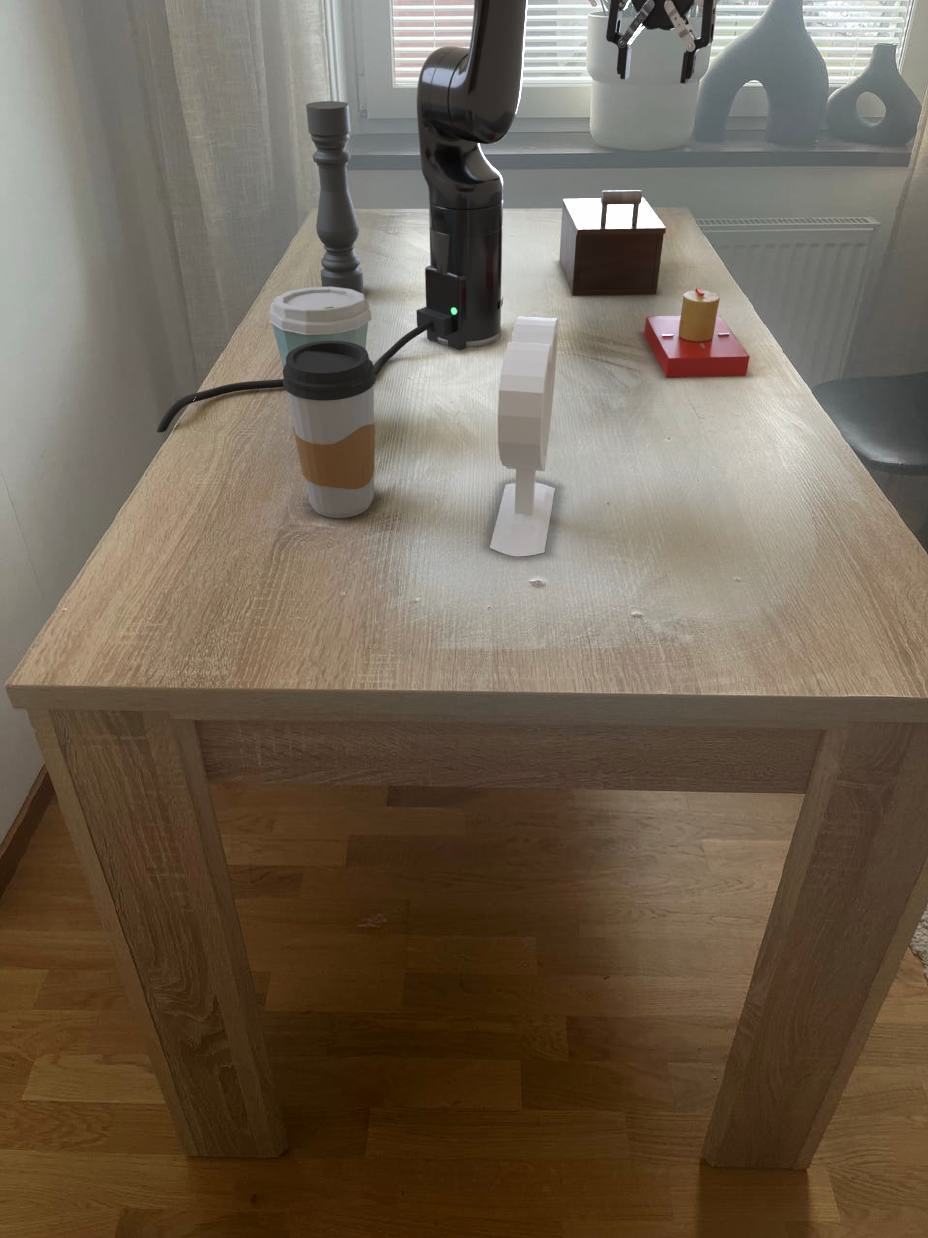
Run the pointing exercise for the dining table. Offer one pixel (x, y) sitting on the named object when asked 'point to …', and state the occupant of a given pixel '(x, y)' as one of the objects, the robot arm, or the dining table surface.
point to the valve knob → (698, 315)
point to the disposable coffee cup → (319, 317)
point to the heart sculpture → (526, 435)
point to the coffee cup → (333, 424)
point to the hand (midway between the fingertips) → (654, 80)
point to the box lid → (613, 214)
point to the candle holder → (335, 195)
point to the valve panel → (695, 350)
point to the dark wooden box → (609, 262)
